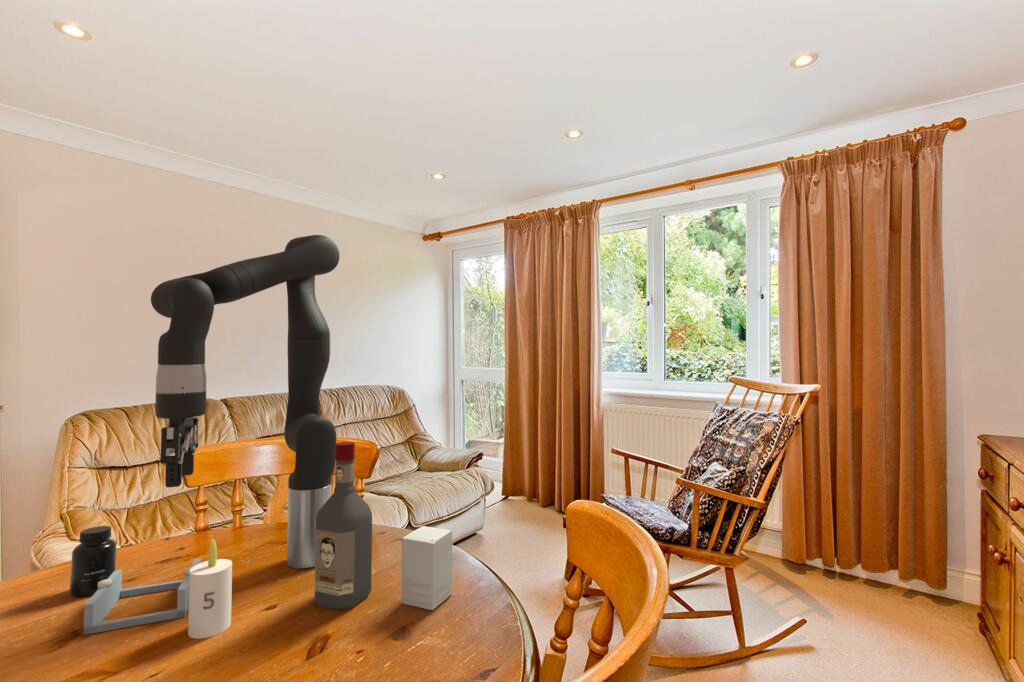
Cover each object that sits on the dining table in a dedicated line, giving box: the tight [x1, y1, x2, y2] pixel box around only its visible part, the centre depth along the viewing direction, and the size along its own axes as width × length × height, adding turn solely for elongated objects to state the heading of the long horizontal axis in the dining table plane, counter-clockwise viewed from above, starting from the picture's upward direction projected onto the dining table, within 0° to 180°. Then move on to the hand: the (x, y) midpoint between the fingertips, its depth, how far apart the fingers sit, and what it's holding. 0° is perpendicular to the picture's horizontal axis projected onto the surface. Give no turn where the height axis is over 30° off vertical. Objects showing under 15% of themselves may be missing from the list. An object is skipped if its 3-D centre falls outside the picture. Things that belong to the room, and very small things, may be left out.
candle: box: [187, 538, 233, 640], centre depth 83 cm, size 6×6×15 cm
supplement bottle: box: [69, 525, 118, 598], centre depth 96 cm, size 7×7×12 cm
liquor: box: [314, 441, 373, 611], centre depth 94 cm, size 9×9×30 cm
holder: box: [83, 558, 202, 636], centre depth 90 cm, size 15×14×6 cm
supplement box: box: [401, 525, 454, 610], centre depth 93 cm, size 7×7×13 cm
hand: (180, 480), depth 86 cm, fingers open, 8 cm apart
